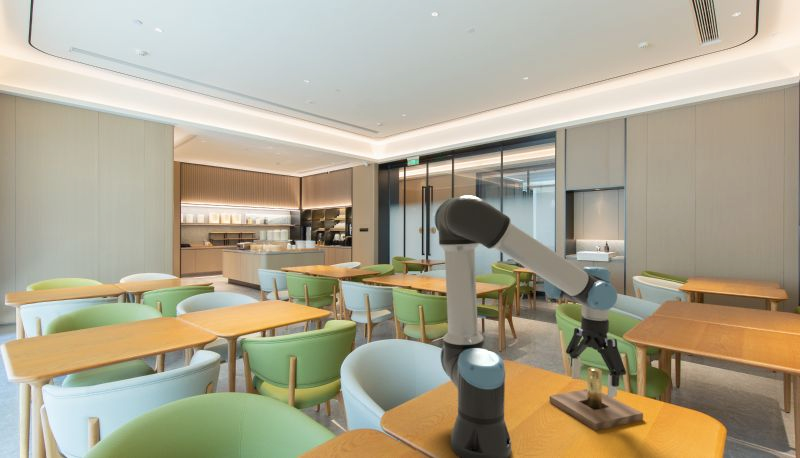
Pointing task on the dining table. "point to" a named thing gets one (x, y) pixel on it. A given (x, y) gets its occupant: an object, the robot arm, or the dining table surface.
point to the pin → (594, 388)
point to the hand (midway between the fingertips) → (593, 387)
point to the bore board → (600, 418)
